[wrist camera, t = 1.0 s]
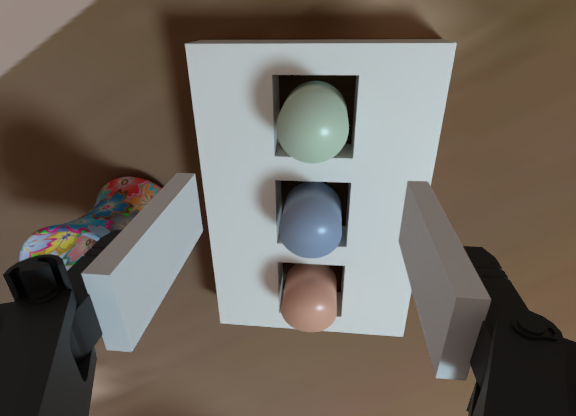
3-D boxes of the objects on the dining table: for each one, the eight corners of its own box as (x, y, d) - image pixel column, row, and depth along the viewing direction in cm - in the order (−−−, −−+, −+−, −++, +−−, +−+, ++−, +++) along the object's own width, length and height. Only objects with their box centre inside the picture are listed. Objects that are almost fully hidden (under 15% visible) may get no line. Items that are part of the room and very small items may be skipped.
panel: (229, 299, 41) (220, 323, 38) (200, 39, 29) (184, 43, 26) (397, 311, 39) (402, 336, 36) (442, 39, 27) (456, 42, 24)
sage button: (284, 143, 30) (276, 162, 26) (283, 80, 28) (275, 91, 24) (345, 144, 29) (346, 164, 26) (349, 80, 27) (351, 92, 23)
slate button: (285, 229, 34) (279, 256, 30) (284, 180, 31) (278, 203, 28) (339, 232, 33) (340, 260, 29) (342, 182, 31) (343, 205, 27)
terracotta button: (286, 298, 37) (281, 330, 34) (286, 258, 35) (280, 288, 31) (335, 301, 37) (335, 334, 33) (337, 261, 35) (338, 291, 31)
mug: (160, 156, 34) (94, 212, 25) (205, 239, 38) (163, 315, 28) (57, 192, 37) (-36, 254, 28) (108, 266, 41) (42, 342, 32)
